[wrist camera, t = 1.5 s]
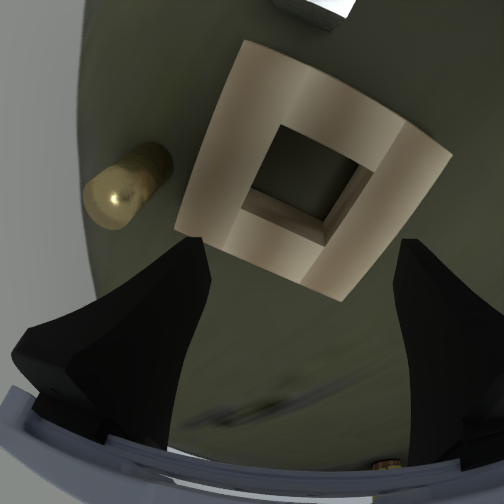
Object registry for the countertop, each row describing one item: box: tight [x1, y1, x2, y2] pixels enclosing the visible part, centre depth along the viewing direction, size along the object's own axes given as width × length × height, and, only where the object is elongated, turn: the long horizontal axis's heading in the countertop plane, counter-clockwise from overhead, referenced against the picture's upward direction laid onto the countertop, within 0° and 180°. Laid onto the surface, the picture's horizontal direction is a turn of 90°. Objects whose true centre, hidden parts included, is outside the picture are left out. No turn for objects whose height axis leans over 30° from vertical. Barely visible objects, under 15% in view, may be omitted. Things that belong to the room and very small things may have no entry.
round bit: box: [83, 142, 173, 230], centre depth 18 cm, size 3×3×6 cm
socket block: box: [174, 40, 452, 302], centre depth 18 cm, size 12×12×3 cm
